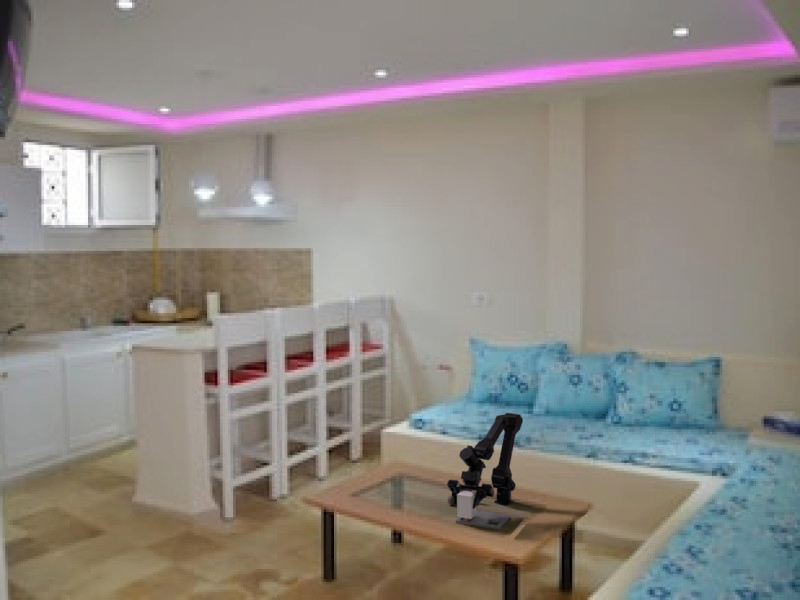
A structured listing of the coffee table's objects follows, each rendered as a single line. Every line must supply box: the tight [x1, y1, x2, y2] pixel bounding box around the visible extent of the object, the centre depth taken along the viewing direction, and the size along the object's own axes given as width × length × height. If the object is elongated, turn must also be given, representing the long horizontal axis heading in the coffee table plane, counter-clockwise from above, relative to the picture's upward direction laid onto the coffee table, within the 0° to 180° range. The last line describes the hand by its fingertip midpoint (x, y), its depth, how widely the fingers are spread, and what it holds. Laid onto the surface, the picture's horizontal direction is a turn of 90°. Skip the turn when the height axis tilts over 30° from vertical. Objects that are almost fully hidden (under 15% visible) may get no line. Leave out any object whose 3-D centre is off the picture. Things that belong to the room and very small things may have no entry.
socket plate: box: [455, 510, 511, 530], centre depth 286 cm, size 14×18×2 cm
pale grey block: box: [456, 490, 478, 521], centre depth 285 cm, size 6×6×11 cm
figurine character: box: [447, 489, 473, 505], centre depth 308 cm, size 7×8×15 cm
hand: (465, 507), depth 283 cm, fingers closed on pale grey block, 6 cm apart
